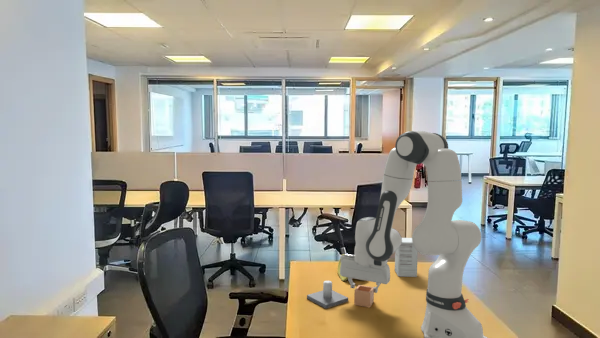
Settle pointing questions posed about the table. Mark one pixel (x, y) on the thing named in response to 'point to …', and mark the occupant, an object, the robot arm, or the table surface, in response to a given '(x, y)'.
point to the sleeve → (364, 296)
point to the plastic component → (339, 271)
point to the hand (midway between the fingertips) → (363, 289)
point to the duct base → (328, 300)
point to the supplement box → (406, 259)
